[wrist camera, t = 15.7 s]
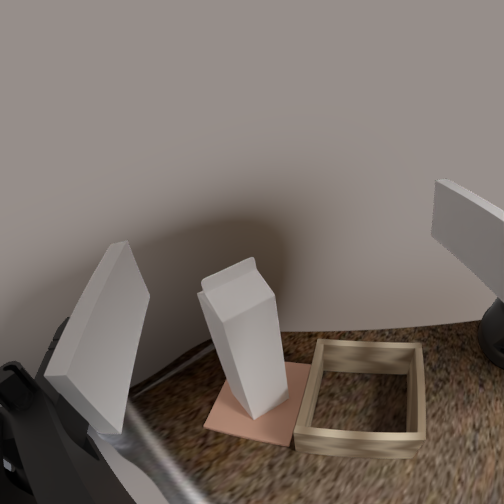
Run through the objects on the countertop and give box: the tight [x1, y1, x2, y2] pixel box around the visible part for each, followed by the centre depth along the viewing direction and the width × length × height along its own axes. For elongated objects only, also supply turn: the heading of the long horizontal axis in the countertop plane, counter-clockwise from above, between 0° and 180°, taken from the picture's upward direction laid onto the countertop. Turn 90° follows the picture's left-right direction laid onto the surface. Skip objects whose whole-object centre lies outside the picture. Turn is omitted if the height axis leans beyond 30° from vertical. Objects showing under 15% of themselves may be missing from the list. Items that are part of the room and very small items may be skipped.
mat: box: [203, 362, 311, 447], centre depth 40 cm, size 12×14×1 cm
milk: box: [197, 257, 289, 420], centre depth 35 cm, size 6×6×22 cm
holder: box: [293, 339, 426, 459], centre depth 34 cm, size 15×15×6 cm
